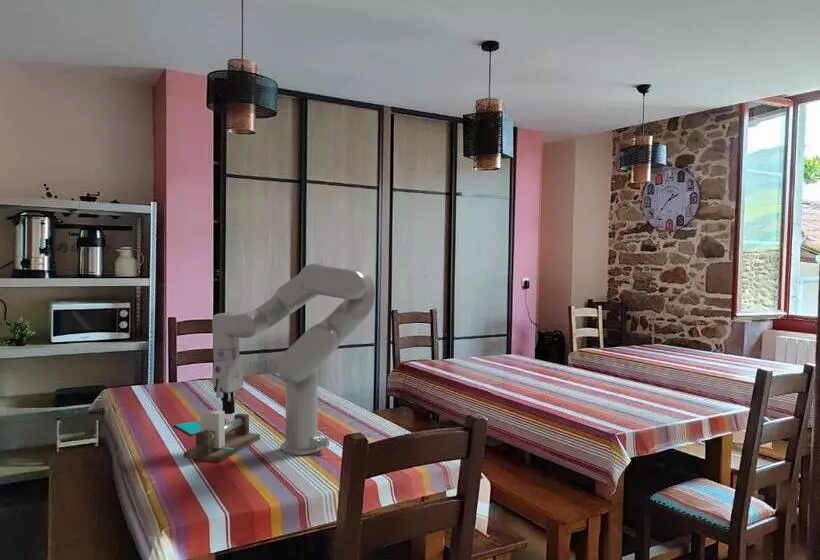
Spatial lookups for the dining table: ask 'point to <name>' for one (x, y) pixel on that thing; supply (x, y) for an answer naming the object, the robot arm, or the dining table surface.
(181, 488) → the dining table surface
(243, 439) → the pipe rig
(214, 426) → the collar
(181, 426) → the smartphone
